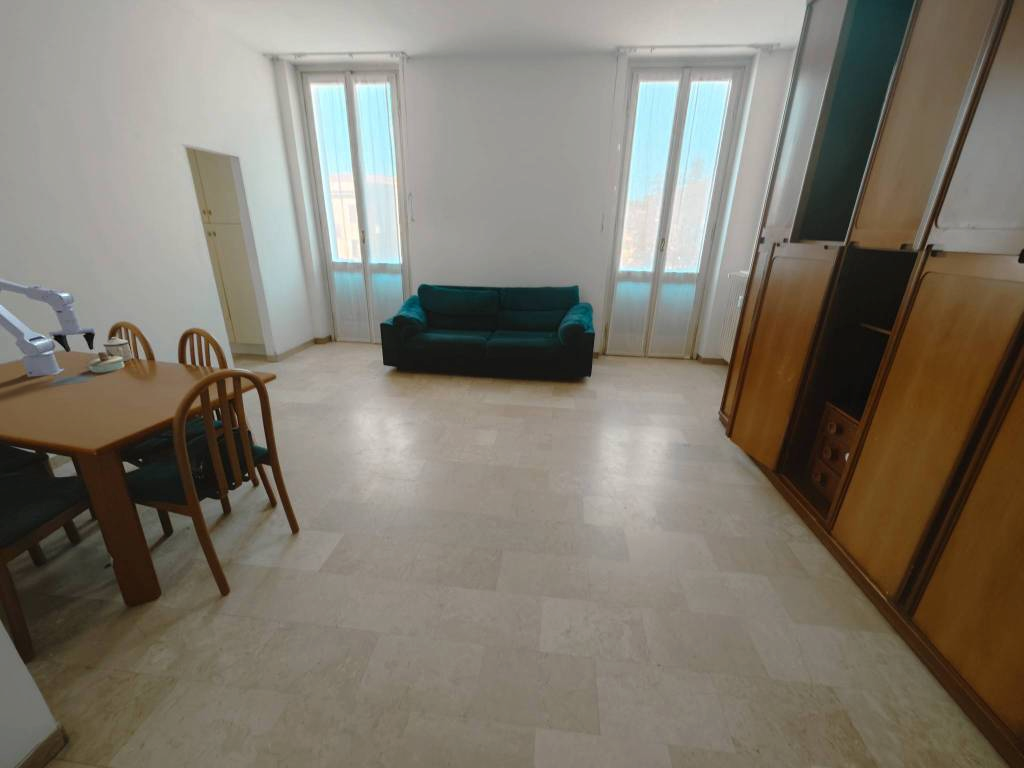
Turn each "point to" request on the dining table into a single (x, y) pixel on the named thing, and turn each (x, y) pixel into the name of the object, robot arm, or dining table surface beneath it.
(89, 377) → the mat
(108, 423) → the dining table surface
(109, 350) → the teacup with lid
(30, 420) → the dining table surface
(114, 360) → the lid
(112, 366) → the bowl
